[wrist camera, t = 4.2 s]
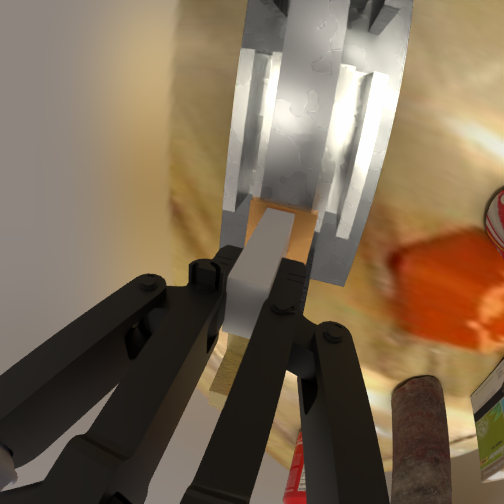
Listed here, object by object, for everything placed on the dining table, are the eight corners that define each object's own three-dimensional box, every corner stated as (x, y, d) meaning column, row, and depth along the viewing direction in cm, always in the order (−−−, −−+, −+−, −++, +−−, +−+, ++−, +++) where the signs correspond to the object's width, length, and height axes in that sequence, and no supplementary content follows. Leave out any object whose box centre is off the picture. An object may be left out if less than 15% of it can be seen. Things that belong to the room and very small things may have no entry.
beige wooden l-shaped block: (236, 297, 20) (210, 351, 16) (292, 312, 19) (277, 370, 15) (229, 355, 23) (208, 405, 19) (275, 368, 22) (260, 420, 18)
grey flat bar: (277, -38, 11) (271, -48, 10) (376, -23, 10) (379, -32, 9) (233, 273, 21) (226, 286, 20) (309, 293, 20) (307, 307, 19)
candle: (446, 395, 34) (454, 525, 17) (400, 411, 38) (395, 537, 21) (435, 367, 32) (446, 519, 15) (383, 386, 36) (375, 531, 19)
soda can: (331, 418, 42) (315, 506, 29) (353, 437, 44) (342, 516, 31) (289, 427, 46) (269, 506, 33) (314, 445, 48) (298, 518, 35)
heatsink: (258, -28, 17) (210, -81, 8) (409, -2, 15) (449, -46, 7) (224, 247, 31) (178, 315, 22) (344, 277, 29) (339, 359, 21)
